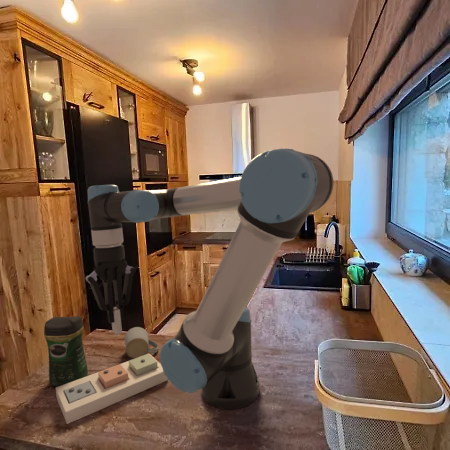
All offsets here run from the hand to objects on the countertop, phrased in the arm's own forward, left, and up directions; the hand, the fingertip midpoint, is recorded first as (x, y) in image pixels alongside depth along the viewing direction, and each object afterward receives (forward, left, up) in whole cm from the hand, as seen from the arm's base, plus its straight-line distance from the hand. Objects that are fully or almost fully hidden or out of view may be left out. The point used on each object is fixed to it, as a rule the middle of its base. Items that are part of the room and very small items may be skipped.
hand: (117, 332), depth 85 cm
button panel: (+1, +2, -16) cm, 16 cm away
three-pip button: (+1, +10, -16) cm, 19 cm away
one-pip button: (+1, -7, -14) cm, 16 cm away
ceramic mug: (+14, -12, -16) cm, 25 cm away
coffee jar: (+14, +10, -16) cm, 24 cm away
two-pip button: (+1, +2, -14) cm, 14 cm away
